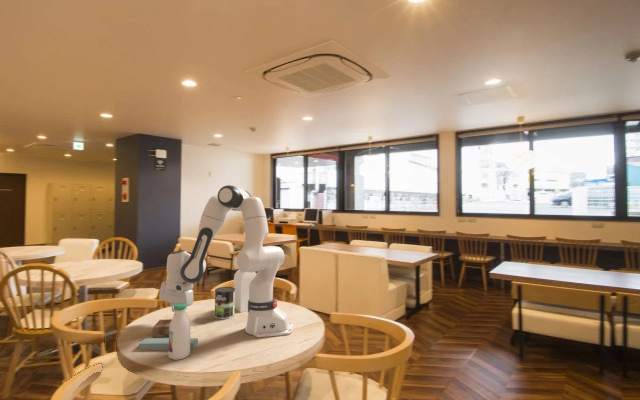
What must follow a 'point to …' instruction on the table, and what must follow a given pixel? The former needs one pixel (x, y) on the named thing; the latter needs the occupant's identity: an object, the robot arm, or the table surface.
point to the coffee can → (224, 302)
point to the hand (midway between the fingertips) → (175, 311)
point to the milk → (242, 289)
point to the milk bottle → (179, 333)
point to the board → (162, 344)
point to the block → (161, 329)
